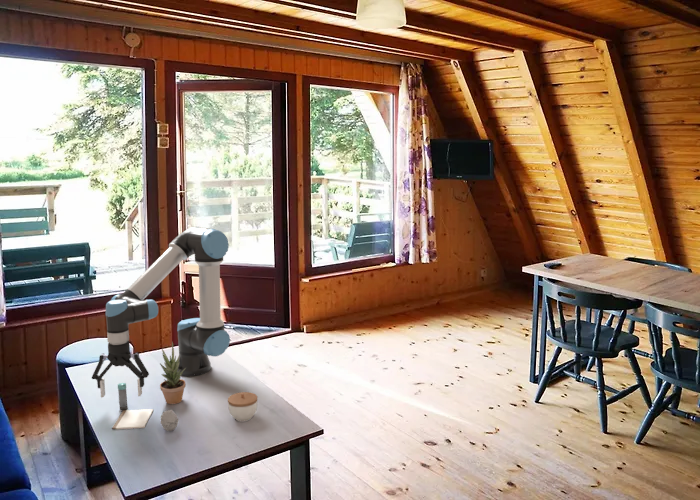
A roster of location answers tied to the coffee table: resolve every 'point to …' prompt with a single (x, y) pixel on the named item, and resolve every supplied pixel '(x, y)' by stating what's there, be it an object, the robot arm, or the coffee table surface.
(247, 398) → the lidded jar
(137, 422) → the notepad
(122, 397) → the marker
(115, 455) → the coffee table surface
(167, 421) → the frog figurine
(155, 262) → the robot arm
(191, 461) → the coffee table surface
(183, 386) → the potted plant
